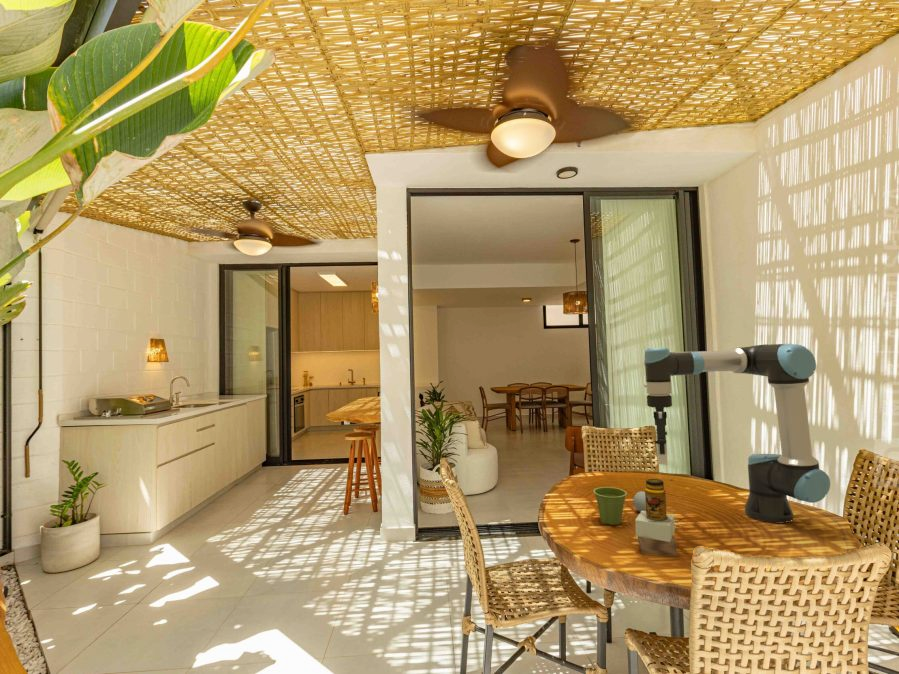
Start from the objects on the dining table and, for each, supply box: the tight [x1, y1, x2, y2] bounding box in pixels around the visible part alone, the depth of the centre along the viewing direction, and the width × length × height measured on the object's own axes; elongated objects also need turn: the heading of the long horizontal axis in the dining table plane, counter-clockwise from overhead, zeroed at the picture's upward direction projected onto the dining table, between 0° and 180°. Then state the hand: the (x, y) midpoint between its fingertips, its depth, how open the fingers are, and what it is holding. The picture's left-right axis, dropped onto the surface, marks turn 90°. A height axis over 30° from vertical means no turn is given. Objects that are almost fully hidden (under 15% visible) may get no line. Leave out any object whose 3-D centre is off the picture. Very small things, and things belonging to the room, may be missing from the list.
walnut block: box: [637, 535, 678, 557], centre depth 152 cm, size 10×10×5 cm
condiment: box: [639, 478, 672, 521], centre depth 153 cm, size 7×8×12 cm
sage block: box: [634, 511, 676, 542], centre depth 152 cm, size 10×10×5 cm
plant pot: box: [592, 486, 628, 526], centre depth 175 cm, size 12×12×11 cm
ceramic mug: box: [632, 490, 646, 512], centre depth 184 cm, size 11×8×8 cm
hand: (662, 459), depth 155 cm, fingers open, 13 cm apart
